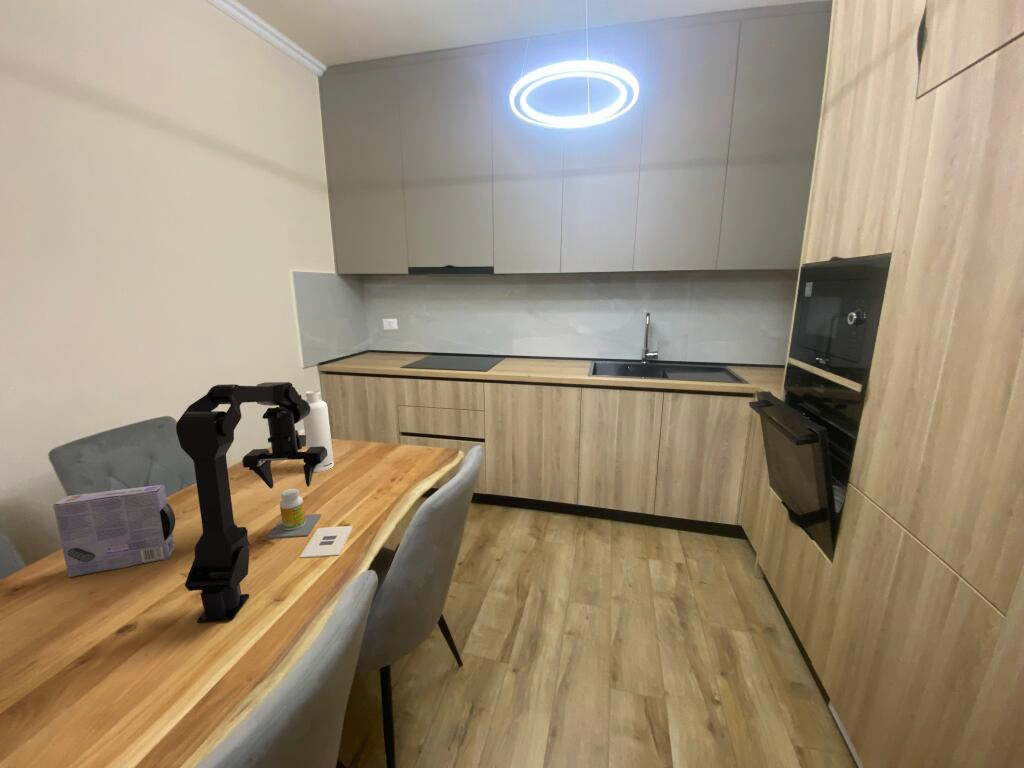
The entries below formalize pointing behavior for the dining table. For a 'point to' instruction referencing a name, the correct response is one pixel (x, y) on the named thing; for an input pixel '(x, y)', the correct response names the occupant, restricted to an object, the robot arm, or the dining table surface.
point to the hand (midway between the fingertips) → (290, 486)
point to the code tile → (327, 542)
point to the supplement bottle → (292, 510)
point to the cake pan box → (115, 529)
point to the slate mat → (302, 531)
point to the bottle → (318, 428)
